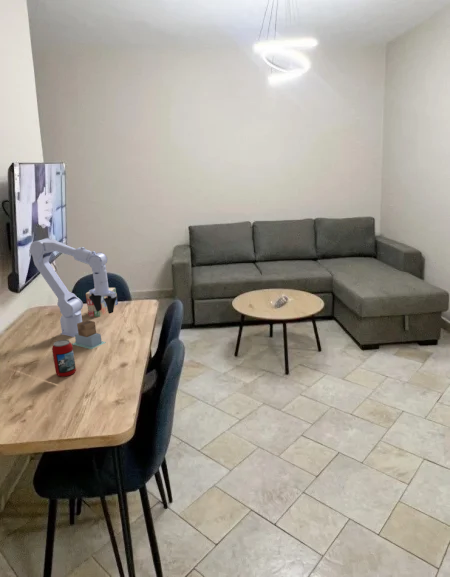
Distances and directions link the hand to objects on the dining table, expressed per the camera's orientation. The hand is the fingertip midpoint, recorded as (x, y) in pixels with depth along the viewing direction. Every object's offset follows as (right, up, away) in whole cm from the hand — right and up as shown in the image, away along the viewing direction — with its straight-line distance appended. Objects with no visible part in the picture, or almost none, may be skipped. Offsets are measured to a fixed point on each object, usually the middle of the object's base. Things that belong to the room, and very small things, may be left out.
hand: (104, 311), depth 189 cm
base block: (-4, -13, -8) cm, 16 cm away
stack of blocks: (-11, -1, +38) cm, 40 cm away
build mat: (-5, -14, -12) cm, 20 cm away
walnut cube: (-5, -9, -9) cm, 14 cm away
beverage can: (-4, -21, -35) cm, 40 cm away
